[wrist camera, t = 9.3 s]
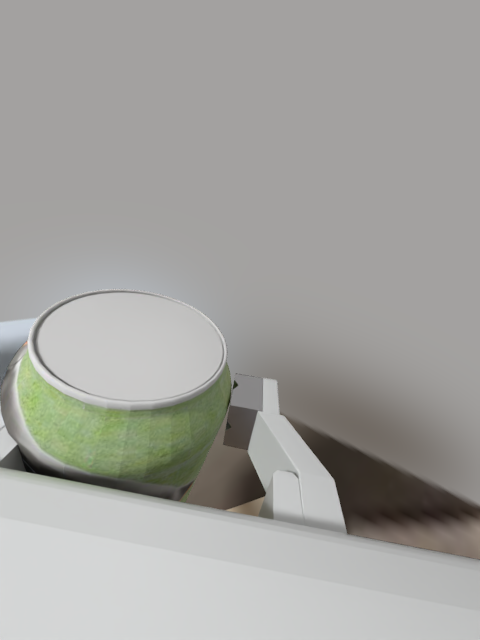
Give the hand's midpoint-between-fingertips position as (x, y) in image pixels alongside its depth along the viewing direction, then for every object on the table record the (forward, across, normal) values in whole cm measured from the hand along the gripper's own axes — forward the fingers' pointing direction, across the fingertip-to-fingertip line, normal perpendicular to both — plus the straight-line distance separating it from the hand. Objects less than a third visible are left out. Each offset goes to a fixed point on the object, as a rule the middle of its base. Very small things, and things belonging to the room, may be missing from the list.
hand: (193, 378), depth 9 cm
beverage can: (-2, +3, +9) cm, 10 cm away
